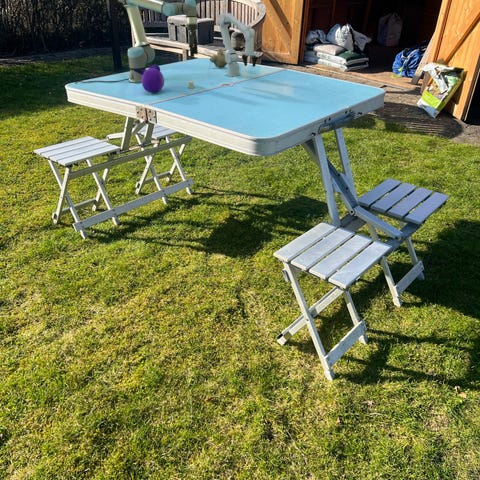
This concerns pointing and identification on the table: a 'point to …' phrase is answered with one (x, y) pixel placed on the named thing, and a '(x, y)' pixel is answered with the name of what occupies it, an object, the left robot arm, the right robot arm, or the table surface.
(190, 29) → the left robot arm
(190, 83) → the cylinder
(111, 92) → the table surface
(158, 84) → the toy
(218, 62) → the teapot
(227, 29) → the right robot arm
